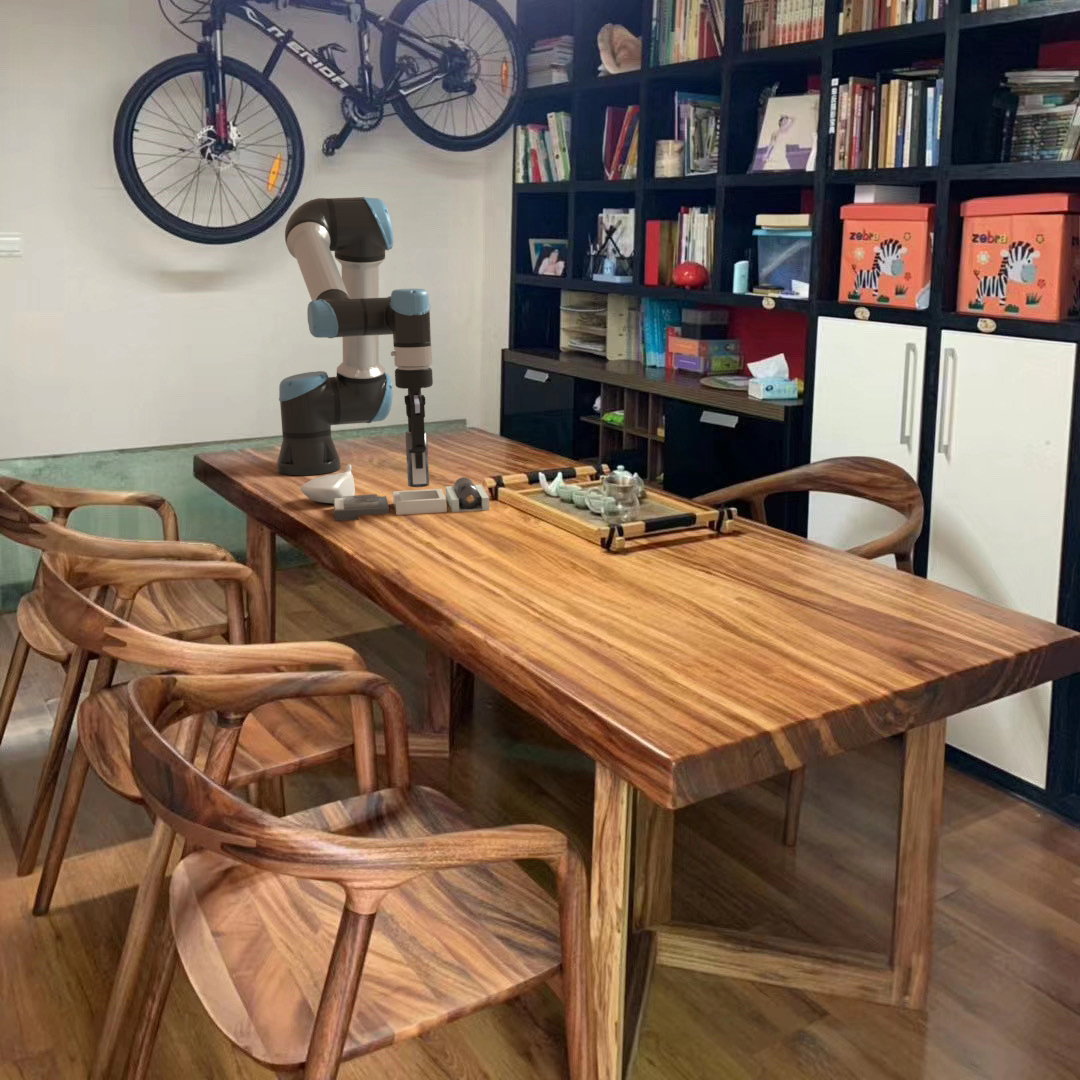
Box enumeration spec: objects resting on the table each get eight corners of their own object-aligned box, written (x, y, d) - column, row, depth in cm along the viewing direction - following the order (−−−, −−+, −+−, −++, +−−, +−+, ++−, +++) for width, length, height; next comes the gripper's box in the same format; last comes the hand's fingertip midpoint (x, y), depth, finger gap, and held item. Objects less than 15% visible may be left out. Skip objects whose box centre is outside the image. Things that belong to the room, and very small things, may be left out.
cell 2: (453, 498, 256) (453, 477, 255) (474, 496, 257) (473, 476, 256) (460, 510, 245) (459, 489, 244) (481, 509, 246) (480, 488, 245)
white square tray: (393, 507, 253) (393, 491, 252) (442, 504, 255) (441, 488, 254) (396, 518, 243) (395, 502, 243) (446, 515, 245) (446, 499, 244)
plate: (343, 500, 251) (343, 496, 251) (376, 498, 252) (376, 494, 252) (343, 508, 245) (343, 503, 244) (378, 506, 246) (378, 501, 246)
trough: (446, 502, 257) (445, 486, 256) (481, 499, 259) (480, 484, 258) (452, 516, 245) (451, 499, 244) (489, 513, 246) (489, 497, 245)
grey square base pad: (334, 508, 253) (333, 497, 253) (386, 505, 255) (385, 494, 255) (334, 520, 243) (333, 509, 242) (389, 517, 245) (388, 506, 244)
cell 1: (407, 483, 249) (404, 427, 246) (428, 482, 250) (426, 426, 247) (408, 487, 245) (405, 430, 242) (430, 486, 246) (427, 429, 243)
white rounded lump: (368, 461, 262) (323, 447, 253) (365, 508, 259) (320, 495, 251) (338, 470, 269) (294, 457, 260) (335, 516, 266) (290, 504, 258)
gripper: (392, 363, 249) (397, 474, 255) (397, 372, 233) (403, 490, 238) (428, 362, 250) (433, 472, 256) (435, 371, 234) (440, 488, 240)
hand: (418, 481), depth 247 cm, fingers closed on cell 1, 4 cm apart
